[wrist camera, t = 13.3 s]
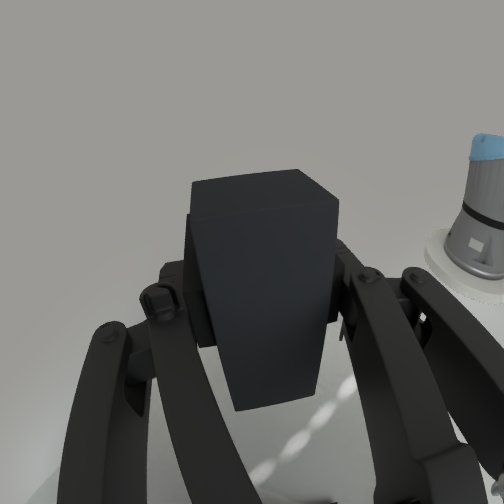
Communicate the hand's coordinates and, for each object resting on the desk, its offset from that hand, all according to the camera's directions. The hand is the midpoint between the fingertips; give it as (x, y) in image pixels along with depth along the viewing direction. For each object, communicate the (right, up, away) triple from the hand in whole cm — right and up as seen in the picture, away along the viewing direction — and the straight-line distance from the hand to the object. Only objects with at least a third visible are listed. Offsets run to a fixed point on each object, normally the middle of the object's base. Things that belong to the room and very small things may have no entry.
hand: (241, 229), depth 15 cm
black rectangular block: (+1, -8, -1) cm, 8 cm away
